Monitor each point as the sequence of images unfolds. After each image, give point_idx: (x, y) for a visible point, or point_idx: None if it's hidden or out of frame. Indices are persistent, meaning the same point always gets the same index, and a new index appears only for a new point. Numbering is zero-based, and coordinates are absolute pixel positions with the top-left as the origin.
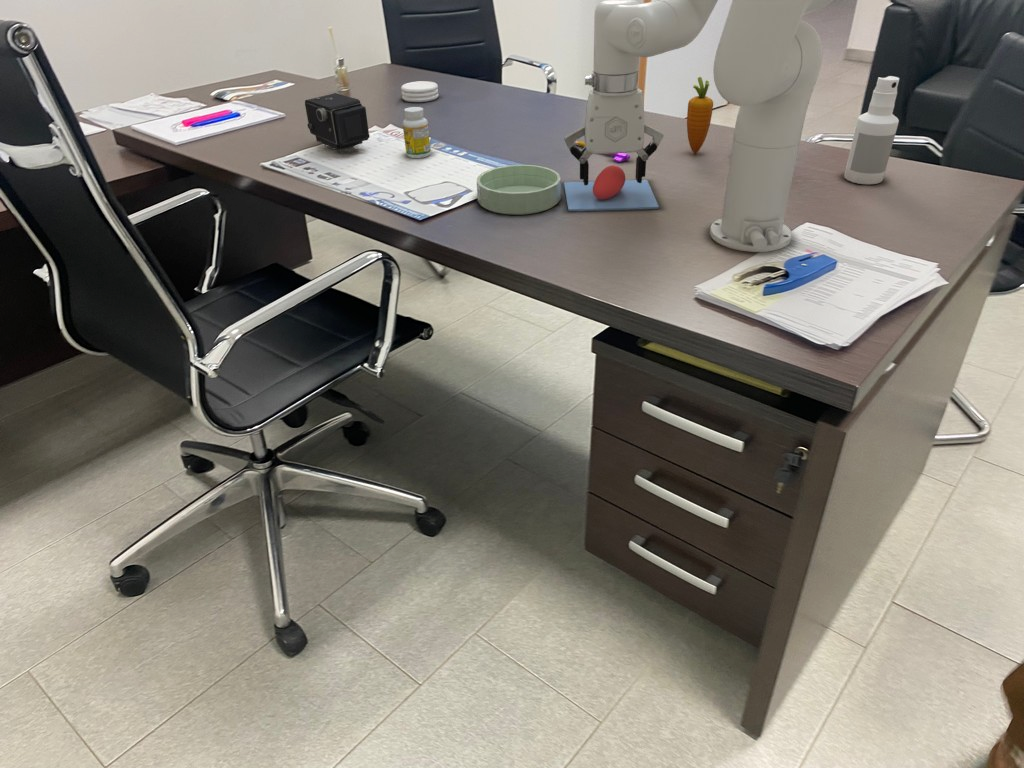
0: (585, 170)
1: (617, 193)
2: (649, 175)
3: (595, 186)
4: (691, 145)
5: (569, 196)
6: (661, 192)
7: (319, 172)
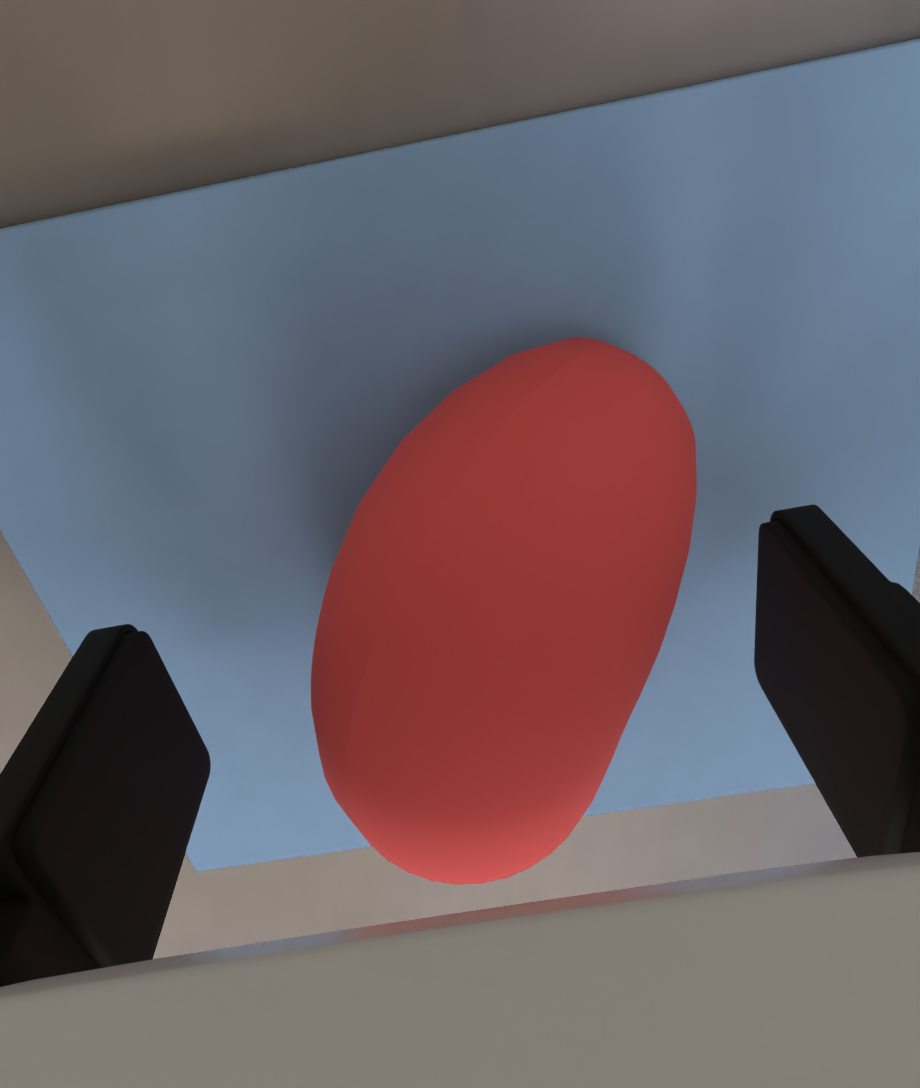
0: (911, 619)
1: None
2: (210, 946)
3: (677, 434)
4: None
5: (898, 469)
6: (13, 687)
7: None
